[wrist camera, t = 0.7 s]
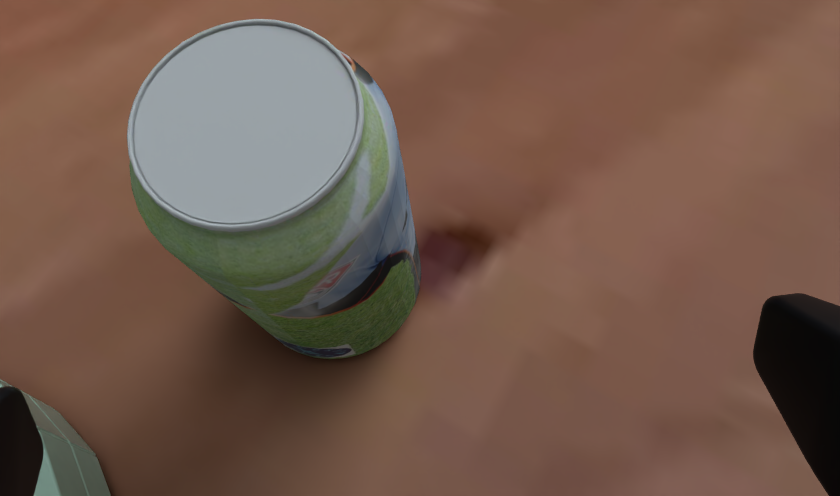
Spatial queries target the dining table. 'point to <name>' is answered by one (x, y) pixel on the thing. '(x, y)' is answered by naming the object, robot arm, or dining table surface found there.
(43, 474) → the bowl
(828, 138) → the dining table surface
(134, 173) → the beverage can
